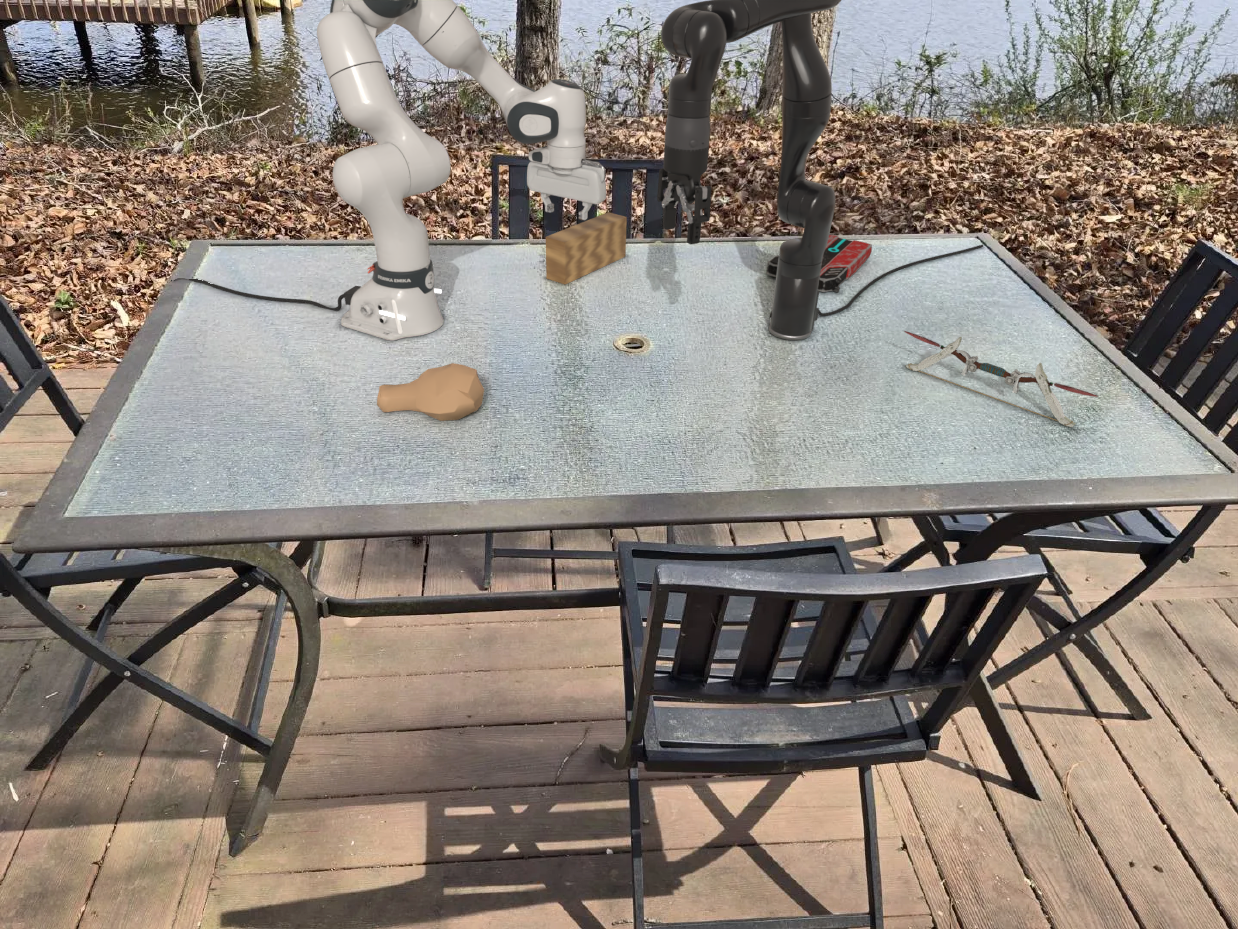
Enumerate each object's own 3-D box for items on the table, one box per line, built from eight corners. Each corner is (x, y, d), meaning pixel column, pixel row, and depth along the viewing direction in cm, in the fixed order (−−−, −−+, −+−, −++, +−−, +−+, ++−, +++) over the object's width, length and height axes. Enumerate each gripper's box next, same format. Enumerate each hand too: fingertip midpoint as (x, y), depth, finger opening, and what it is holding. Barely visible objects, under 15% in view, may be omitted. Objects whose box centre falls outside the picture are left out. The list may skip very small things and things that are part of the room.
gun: (763, 262, 220) (837, 280, 212) (808, 226, 242) (876, 242, 234) (761, 279, 222) (834, 298, 214) (805, 242, 244) (873, 258, 236)
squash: (485, 427, 160) (474, 388, 154) (378, 435, 161) (363, 397, 155) (491, 389, 168) (481, 351, 162) (390, 398, 169) (376, 360, 163)
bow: (1087, 429, 164) (1105, 382, 158) (1083, 433, 163) (1101, 385, 157) (899, 362, 185) (909, 318, 180) (895, 365, 184) (904, 321, 179)
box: (565, 284, 217) (564, 242, 211) (546, 278, 219) (545, 236, 214) (625, 256, 234) (626, 216, 228) (607, 251, 237) (608, 212, 231)
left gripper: (612, 160, 200) (610, 220, 208) (537, 146, 208) (538, 204, 216) (598, 166, 196) (596, 227, 203) (522, 151, 204) (524, 210, 211)
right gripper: (728, 150, 144) (719, 245, 153) (684, 130, 154) (679, 221, 163) (689, 154, 141) (682, 251, 150) (647, 134, 152) (643, 226, 161)
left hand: (566, 215), depth 210 cm, fingers open, 8 cm apart
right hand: (680, 235), depth 157 cm, fingers open, 8 cm apart
